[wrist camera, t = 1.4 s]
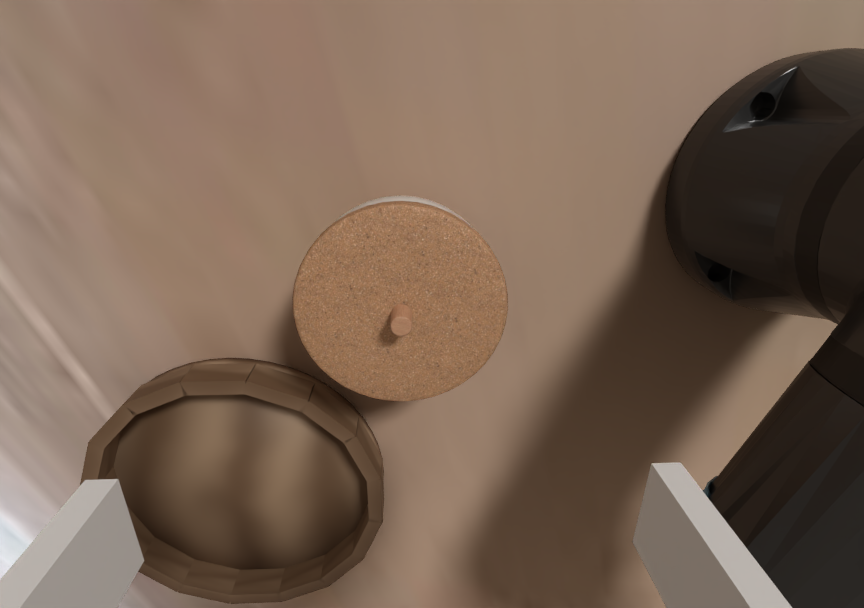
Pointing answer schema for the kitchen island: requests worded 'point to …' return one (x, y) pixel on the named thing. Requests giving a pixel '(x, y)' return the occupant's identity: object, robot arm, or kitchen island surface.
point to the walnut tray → (243, 479)
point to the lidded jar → (400, 299)
